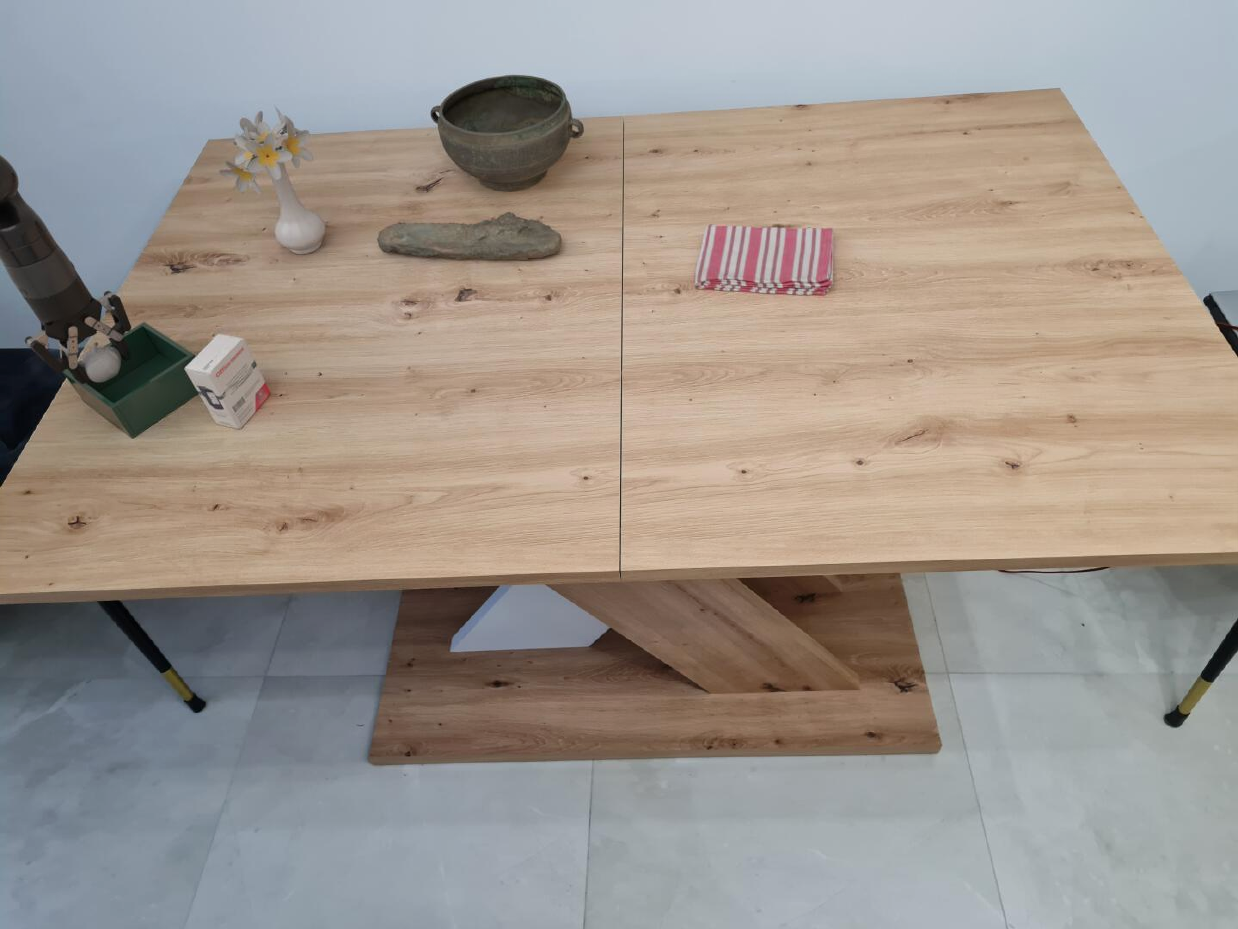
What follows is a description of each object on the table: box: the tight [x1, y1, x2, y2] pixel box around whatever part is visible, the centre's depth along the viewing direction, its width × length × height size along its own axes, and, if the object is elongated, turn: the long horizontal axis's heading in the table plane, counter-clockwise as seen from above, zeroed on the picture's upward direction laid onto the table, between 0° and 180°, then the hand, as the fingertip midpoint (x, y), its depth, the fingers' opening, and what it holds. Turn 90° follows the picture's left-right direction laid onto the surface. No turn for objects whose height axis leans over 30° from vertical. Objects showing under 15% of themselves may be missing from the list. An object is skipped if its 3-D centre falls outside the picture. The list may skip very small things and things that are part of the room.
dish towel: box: [693, 223, 834, 296], centre depth 156 cm, size 17×23×4 cm
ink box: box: [185, 333, 272, 430], centre depth 137 cm, size 8×5×12 cm, turn 160°
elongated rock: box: [376, 211, 563, 261], centre depth 165 cm, size 35×5×10 cm
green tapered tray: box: [62, 321, 199, 440], centre depth 143 cm, size 15×15×7 cm
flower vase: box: [218, 104, 327, 255], centre depth 161 cm, size 13×18×25 cm
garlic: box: [80, 341, 121, 382], centre depth 136 cm, size 6×5×5 cm
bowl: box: [430, 74, 585, 193], centre depth 178 cm, size 32×26×15 cm
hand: (106, 369), depth 137 cm, fingers closed on garlic, 6 cm apart
